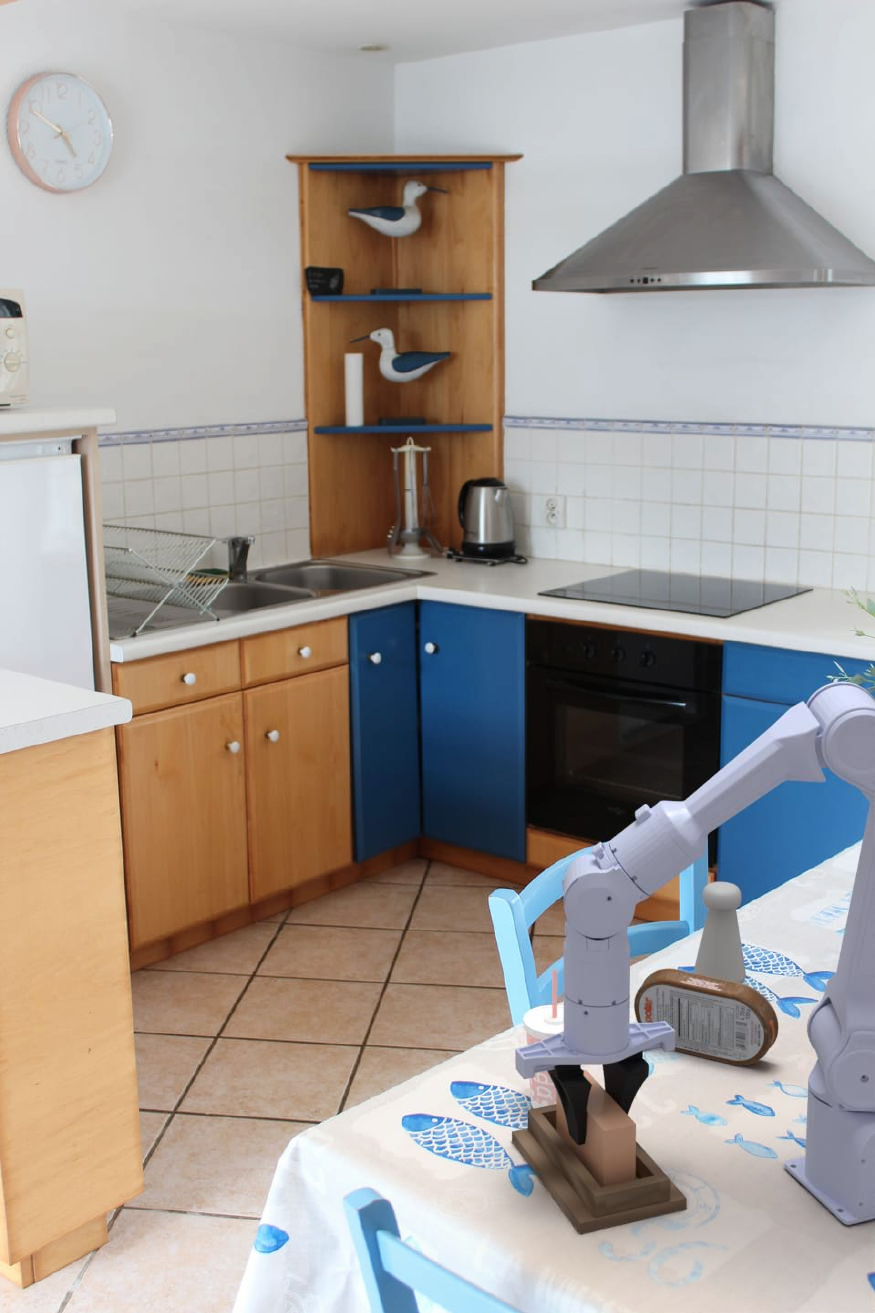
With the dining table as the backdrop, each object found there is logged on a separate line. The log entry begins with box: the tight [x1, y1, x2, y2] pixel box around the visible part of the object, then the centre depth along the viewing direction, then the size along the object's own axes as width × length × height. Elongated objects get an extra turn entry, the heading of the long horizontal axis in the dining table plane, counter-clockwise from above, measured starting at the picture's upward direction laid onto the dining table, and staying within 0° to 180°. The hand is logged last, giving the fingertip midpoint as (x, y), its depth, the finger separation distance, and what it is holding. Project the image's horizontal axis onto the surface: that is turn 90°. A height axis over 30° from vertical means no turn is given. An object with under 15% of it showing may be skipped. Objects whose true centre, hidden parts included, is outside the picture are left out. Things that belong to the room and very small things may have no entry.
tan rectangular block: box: [556, 1069, 637, 1187], centre depth 121 cm, size 10×3×6 cm, turn 19°
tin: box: [633, 967, 779, 1067], centre depth 142 cm, size 15×3×8 cm, turn 60°
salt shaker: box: [693, 881, 747, 984], centre depth 156 cm, size 6×6×13 cm
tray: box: [511, 1104, 688, 1235], centre depth 121 cm, size 15×10×3 cm, turn 19°
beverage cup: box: [522, 969, 564, 1109], centre depth 132 cm, size 6×6×14 cm
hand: (595, 1135), depth 121 cm, fingers closed on tan rectangular block, 3 cm apart
